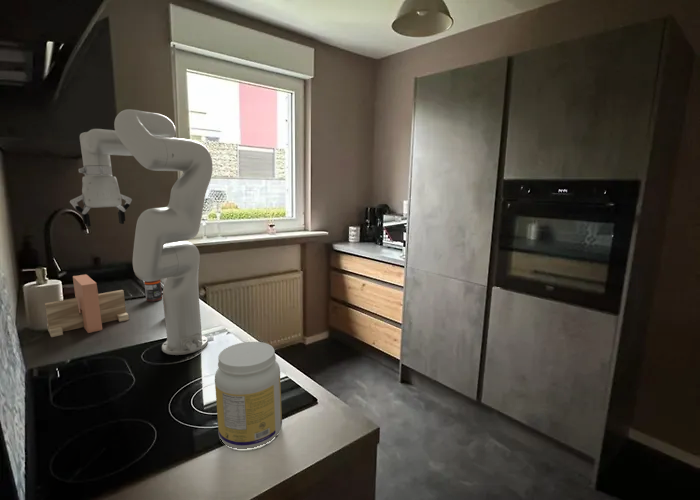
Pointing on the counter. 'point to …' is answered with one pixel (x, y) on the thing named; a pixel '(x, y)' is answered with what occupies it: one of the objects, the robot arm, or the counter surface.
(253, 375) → the supplement tub
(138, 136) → the robot arm
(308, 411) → the counter surface
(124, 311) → the slotted stand
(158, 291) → the supplement bottle
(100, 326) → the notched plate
